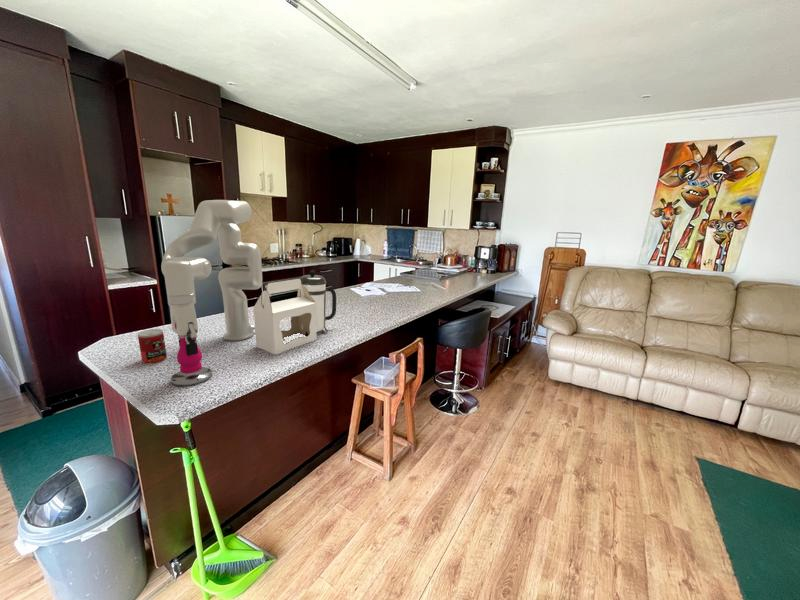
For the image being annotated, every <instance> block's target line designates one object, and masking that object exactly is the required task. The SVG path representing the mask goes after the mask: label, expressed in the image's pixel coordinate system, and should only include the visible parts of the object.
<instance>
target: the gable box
mask: <svg viewBox="0 0 800 600" xmlns="http://www.w3.org/2000/svg"><path fill="white" fill-rule="evenodd" d="M264 287H265V290H263V291H261V294H260V295H259V297H258V299H257V301H256V302H255V305H254V306H253V319H254V326H255V329H254V330H255V331H254V332H255V333H254V334H255V344H256V348H259V349H261V350H264V351H265V352H268V353H270V354H272V355H278V354H281V353H284V352H286V350H287V351H288V349H290V350H292V349H295V348H297V347H296V346H298V347H300V346H299V345H301V346H303V345H302V344H304V345H306V344H305V343H307V342H310V341H312V342H314V341H313V340H315V341H317V340H316V339H317V334H318V332H316V303H315V301H314V300H313V298H312V297H311V295H310V294H309V292H308V291H307V289H306V285H302V284H301V280H300V278H293V279H287V280H279V281H274V282H268V283H267V284H266V285H264ZM294 290H297V296H296V297H294V298H290V299H289V298H288V299H285V300H284V299H283V300H280V301H275V302H271V296H270V295H273V294H278V293H283V292H290V291H294ZM285 318H290V325H291V327H290V329H288V330H281V328H280V323H281V321H282V320H284V319H285ZM302 324H303V330H302V329H301V325H302ZM306 331H307V333H308V336H306V337H298V338H295V339H293V340H291V341H290V342H288V343H286V344H284V343H283V341H285V339H284V337H287V336H288V337H289V336H291V335H293V334H297V333H300V334H303V335H305V333H306ZM282 339H283V341H282ZM310 343H311V342H310ZM307 344H308V343H307ZM294 347H295V348H294ZM291 348H292V349H291ZM283 351H284V352H283Z"/></svg>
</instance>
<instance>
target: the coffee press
mask: <svg viewBox="0 0 800 600" xmlns="http://www.w3.org/2000/svg"><path fill="white" fill-rule="evenodd" d="M315 272H316V271H315V270H313V269H312V270H310V271H309V274H305V275H303V276H300V277H299V279H300V280H301V284H302V285H306V289H307V291H308V292H309V294H310V295H311V297H312V298H313V300H314V301H315V303H316V333H318V332H323V333H324V332H327V333H328V329H327V327H326V321H330V320H331V319H333V318H334V317H335V316H336V312H337V293H336V291H335V289H334V288H331V287H326V284H327V281H326V278H325V277H324V276H323V275H318V274H315ZM327 292H330V293H331V297H332V298H331V301H332V302H331V305H332V306H331V314H329V315H327V316H326V302H327V301H326V298H327V297H326V293H327ZM301 329H302V330H303V324H302V325H301ZM305 336H308V333H307V331H306V333H305Z"/></svg>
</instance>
